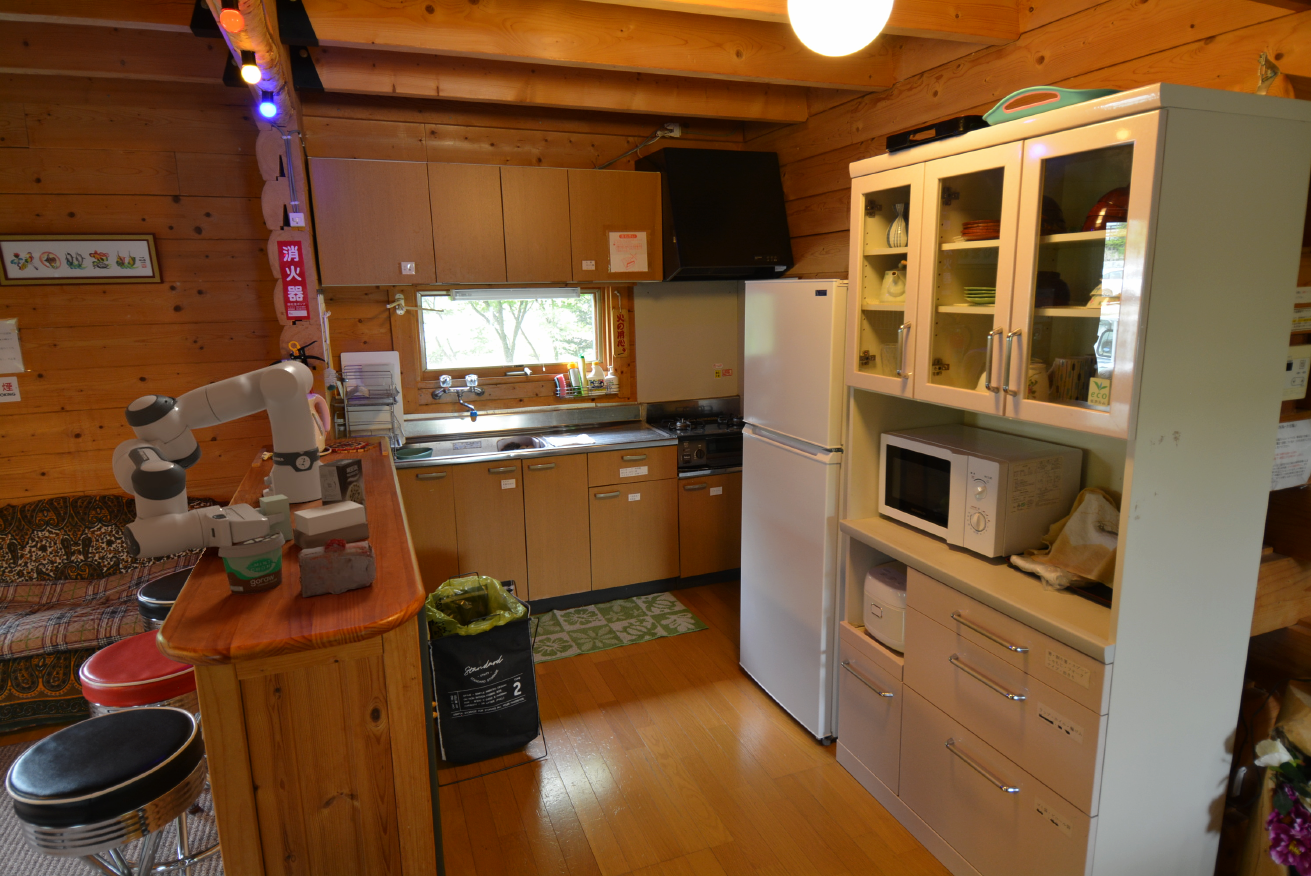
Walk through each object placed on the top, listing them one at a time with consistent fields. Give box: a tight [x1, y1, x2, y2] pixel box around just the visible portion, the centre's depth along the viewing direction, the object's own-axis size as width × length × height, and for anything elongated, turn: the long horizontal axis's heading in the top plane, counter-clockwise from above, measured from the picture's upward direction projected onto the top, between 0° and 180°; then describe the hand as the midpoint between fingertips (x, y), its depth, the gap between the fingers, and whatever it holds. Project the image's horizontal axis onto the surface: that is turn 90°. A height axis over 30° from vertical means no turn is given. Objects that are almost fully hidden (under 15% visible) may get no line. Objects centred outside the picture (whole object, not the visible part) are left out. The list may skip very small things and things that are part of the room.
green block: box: [258, 494, 294, 542], centre depth 176 cm, size 5×5×10 cm
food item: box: [297, 538, 377, 599], centre depth 144 cm, size 14×8×10 cm, turn 116°
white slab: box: [293, 501, 367, 536], centre depth 174 cm, size 8×13×4 cm, turn 136°
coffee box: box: [319, 458, 368, 521], centre depth 186 cm, size 9×6×16 cm
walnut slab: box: [292, 521, 370, 550], centre depth 175 cm, size 9×14×4 cm, turn 133°
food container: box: [218, 529, 286, 595], centre depth 145 cm, size 12×6×10 cm, turn 148°
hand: (279, 513), depth 177 cm, fingers closed on green block, 5 cm apart
